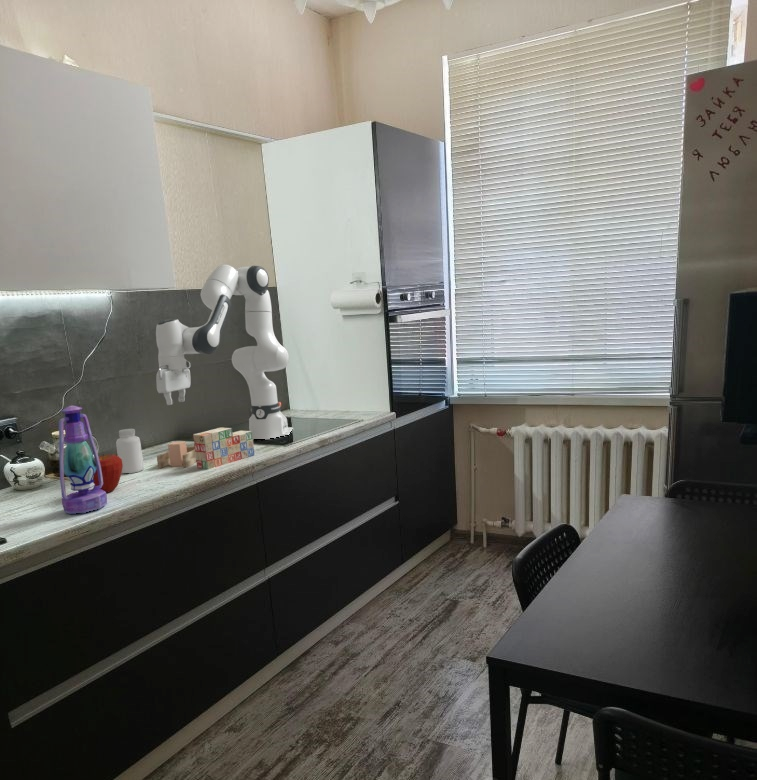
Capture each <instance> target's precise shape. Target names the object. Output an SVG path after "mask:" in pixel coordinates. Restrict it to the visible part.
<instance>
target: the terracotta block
mask: <svg viewBox="0 0 757 780" xmlns="http://www.w3.org/2000/svg"><path fill="white" fill-rule="evenodd" d="M186 447H187V443H186V441H173V442H171V443H168V444H167V448H168V451H169V457H170V464H169V465H170V467H184V464H183V455H184V454H186V453H187V448H186Z"/></svg>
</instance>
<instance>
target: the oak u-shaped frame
mask: <svg viewBox="0 0 757 780" xmlns="http://www.w3.org/2000/svg"><path fill="white" fill-rule="evenodd" d="M186 448H187V453H186V454H184V455H183V464H184V465H183V468H189V467H191V466H192V465H194V464H197V462H196V454H195V448H194V445H193V446H186ZM156 461H157V469H162V467H163V468H165V467H167V466H169V465H170V457H169V450H167V451H164V452H163V453H160V454H158V455H157V456H156ZM166 465H167V466H166ZM164 466H165V467H164Z"/></svg>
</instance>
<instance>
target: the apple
mask: <svg viewBox="0 0 757 780" xmlns="http://www.w3.org/2000/svg"><path fill="white" fill-rule="evenodd" d="M98 457H99V461H100V465H101V471H102V477H103V485H102V487H101V488H99V489H101V490H103V491H105V492H106V493H110V491H111V492H113V491H115V489H117V487H118V486H119V483H120V479H121V477H122V468H123V464H122V459H121V458H120V457H118V454H117V455H116V454H106V455H105V454H104V453H102V456H98ZM94 460H95V458H94ZM93 480H94V482H93V483H94V484H95V486H98V485H99V478H98V472H97V469H96V472H95V474H94V476H93ZM95 486H93V488H94V487H95Z"/></svg>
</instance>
